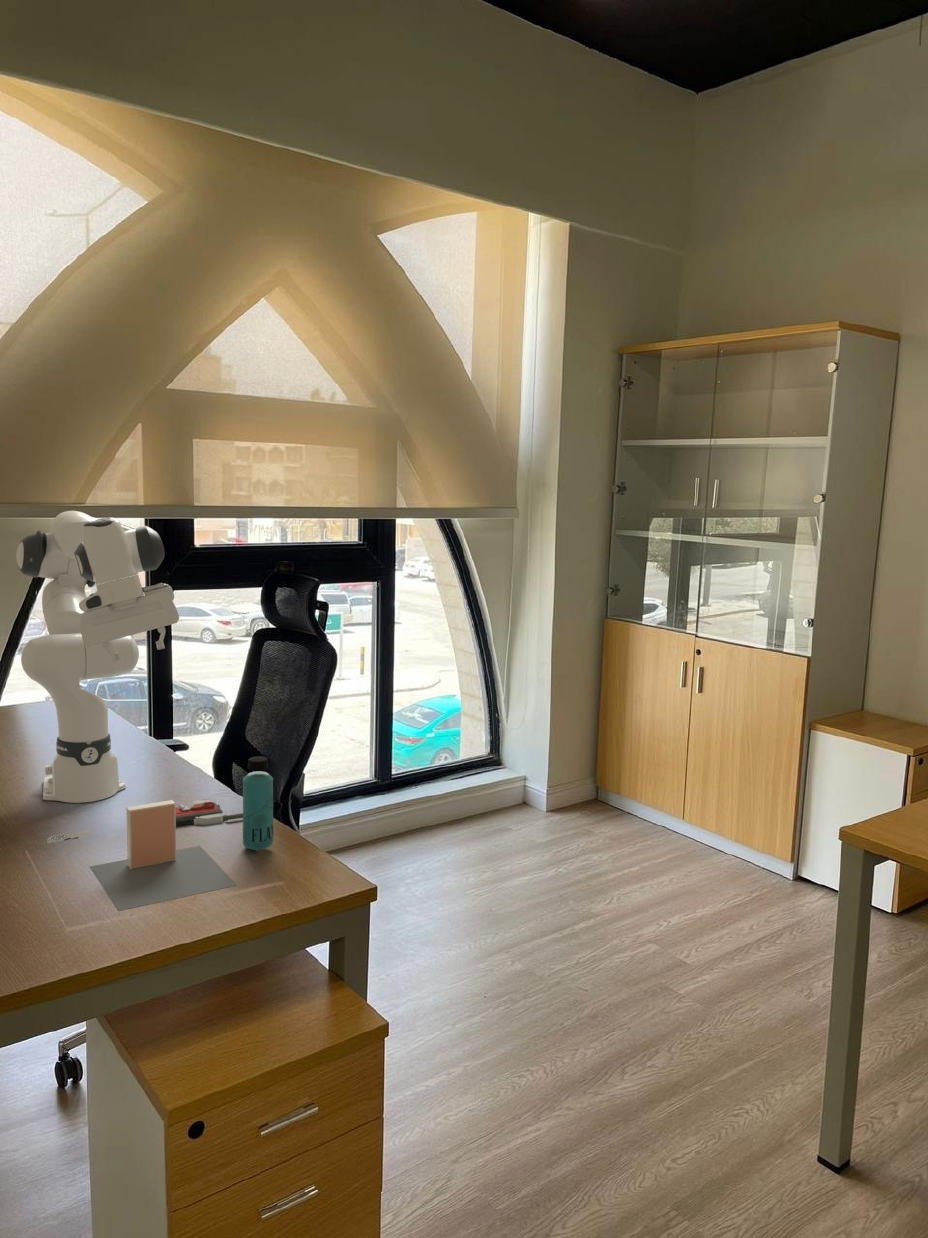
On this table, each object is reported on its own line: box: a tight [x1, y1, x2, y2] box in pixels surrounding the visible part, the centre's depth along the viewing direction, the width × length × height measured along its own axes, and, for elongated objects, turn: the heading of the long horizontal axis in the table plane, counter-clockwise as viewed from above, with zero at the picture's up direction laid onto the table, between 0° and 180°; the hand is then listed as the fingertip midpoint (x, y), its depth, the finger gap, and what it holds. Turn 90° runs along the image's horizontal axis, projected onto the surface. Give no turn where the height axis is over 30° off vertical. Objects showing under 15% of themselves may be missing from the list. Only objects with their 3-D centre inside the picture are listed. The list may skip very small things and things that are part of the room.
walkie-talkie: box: [175, 798, 243, 827], centre depth 218 cm, size 9×4×20 cm
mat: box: [89, 845, 238, 912], centre depth 187 cm, size 22×22×1 cm
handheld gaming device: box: [46, 831, 93, 844], centre depth 201 cm, size 9×1×15 cm
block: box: [125, 799, 177, 869], centre depth 192 cm, size 2×9×12 cm, turn 124°
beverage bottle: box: [242, 755, 275, 850], centre depth 201 cm, size 6×7×20 cm
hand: (139, 655), depth 208 cm, fingers open, 8 cm apart
